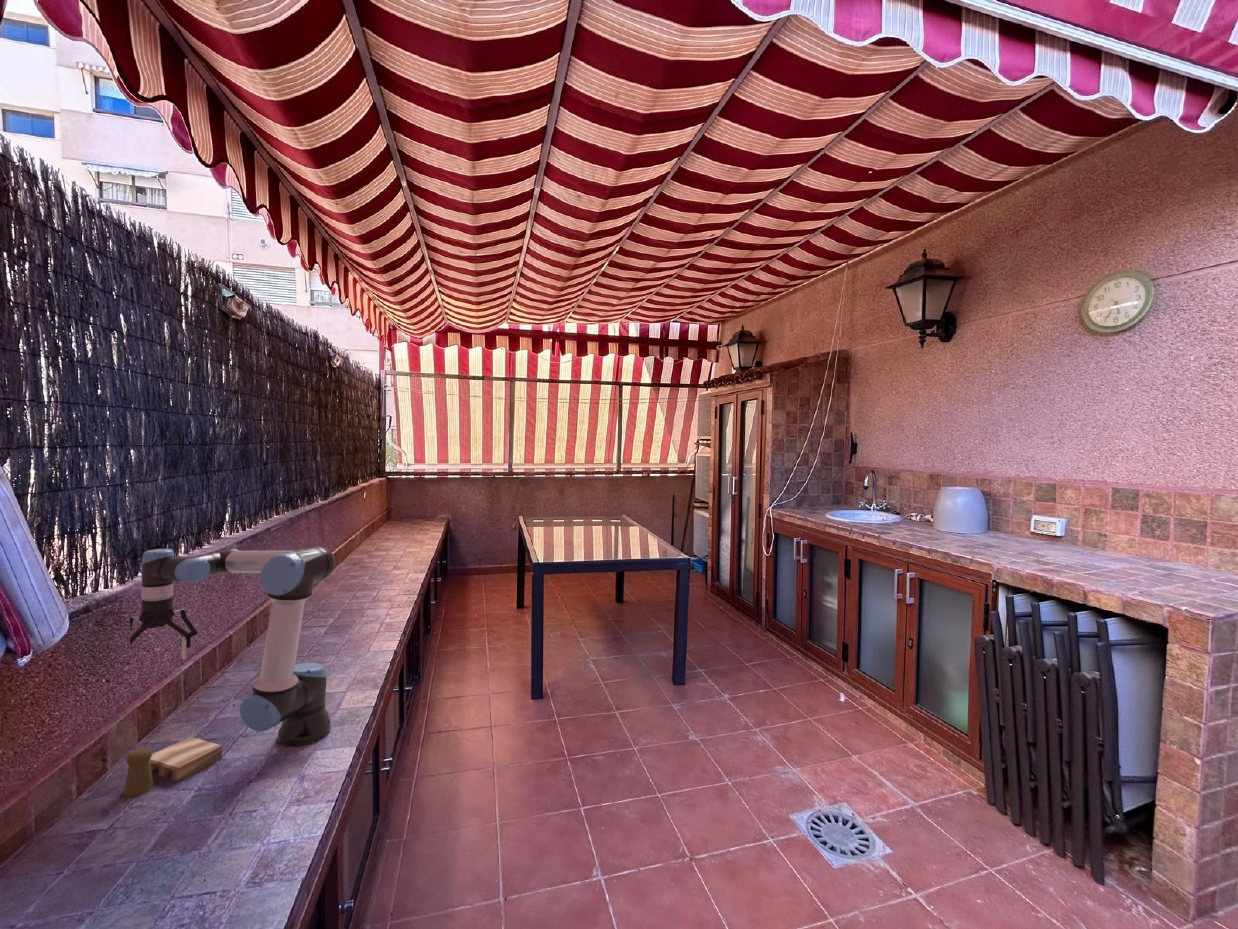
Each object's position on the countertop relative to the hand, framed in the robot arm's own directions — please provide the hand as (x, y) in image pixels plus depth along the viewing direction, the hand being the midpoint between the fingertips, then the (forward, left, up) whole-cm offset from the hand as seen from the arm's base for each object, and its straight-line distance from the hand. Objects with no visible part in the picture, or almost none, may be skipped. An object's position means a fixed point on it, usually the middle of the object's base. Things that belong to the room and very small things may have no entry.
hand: (156, 663), depth 165 cm
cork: (-23, +17, -25) cm, 38 cm away
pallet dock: (-22, +5, -25) cm, 34 cm away
